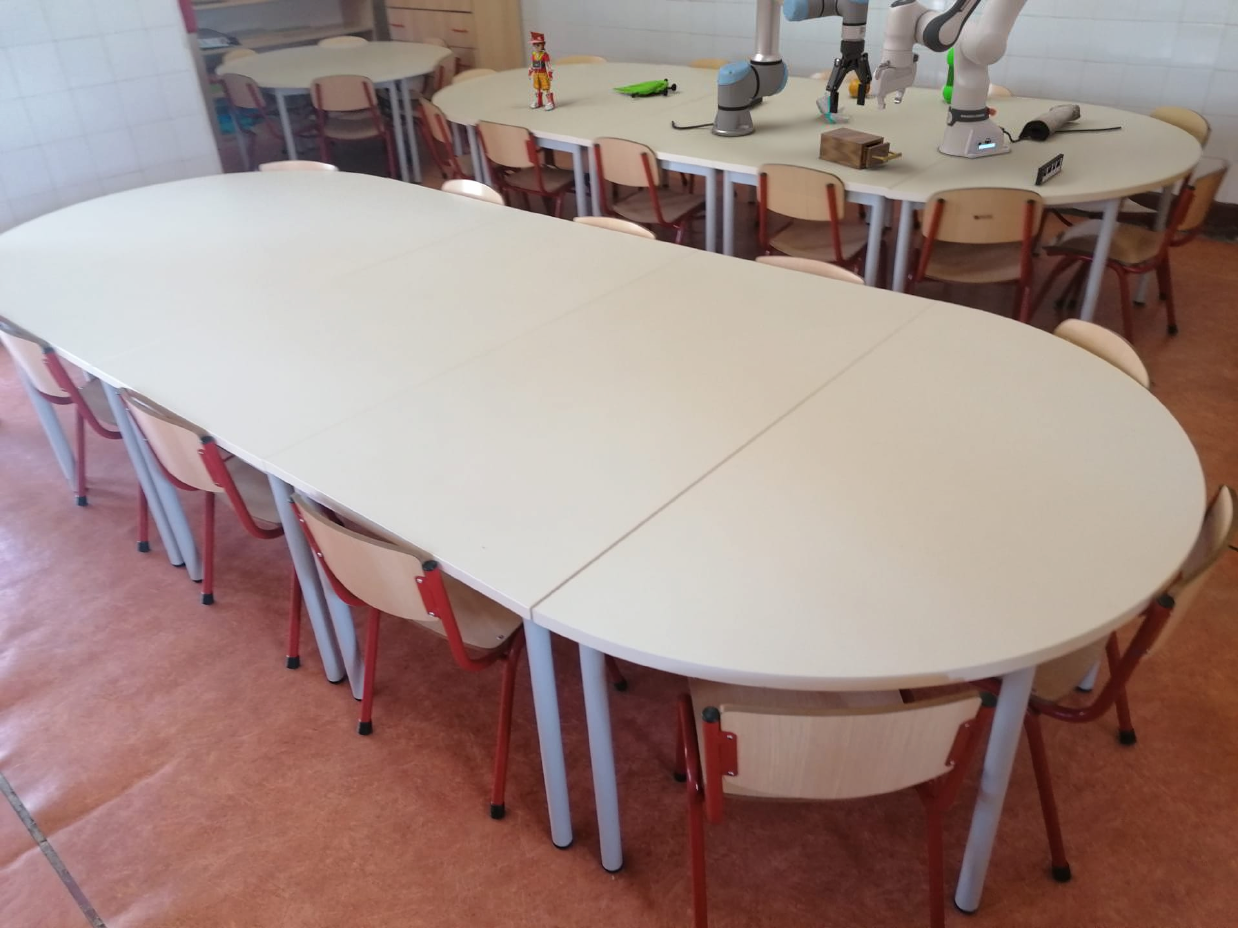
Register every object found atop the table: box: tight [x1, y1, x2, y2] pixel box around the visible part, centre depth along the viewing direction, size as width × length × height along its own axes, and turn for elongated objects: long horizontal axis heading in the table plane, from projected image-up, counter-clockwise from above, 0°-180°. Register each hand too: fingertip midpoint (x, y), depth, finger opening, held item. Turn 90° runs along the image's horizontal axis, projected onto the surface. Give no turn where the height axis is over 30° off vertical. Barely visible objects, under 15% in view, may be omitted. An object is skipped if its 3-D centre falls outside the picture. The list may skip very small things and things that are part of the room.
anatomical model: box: [815, 92, 850, 124], centre depth 341 cm, size 15×10×10 cm
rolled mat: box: [1017, 103, 1082, 142], centre depth 314 cm, size 30×9×10 cm
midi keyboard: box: [1035, 153, 1065, 186], centre depth 273 cm, size 18×1×5 cm, turn 138°
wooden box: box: [818, 126, 885, 170], centre depth 298 cm, size 18×10×8 cm, turn 35°
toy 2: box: [612, 78, 677, 99], centre depth 396 cm, size 28×5×30 cm
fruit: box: [848, 78, 871, 98], centre depth 368 cm, size 8×8×8 cm
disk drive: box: [749, 97, 764, 110], centre depth 367 cm, size 10×3×15 cm
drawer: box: [862, 141, 903, 169], centre depth 293 cm, size 22×9×6 cm, turn 35°
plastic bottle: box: [942, 46, 954, 104], centre depth 348 cm, size 10×10×25 cm
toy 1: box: [527, 31, 556, 111], centre depth 374 cm, size 12×9×30 cm
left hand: (847, 109), depth 297 cm, fingers open, 13 cm apart
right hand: (889, 106), depth 280 cm, fingers open, 8 cm apart
